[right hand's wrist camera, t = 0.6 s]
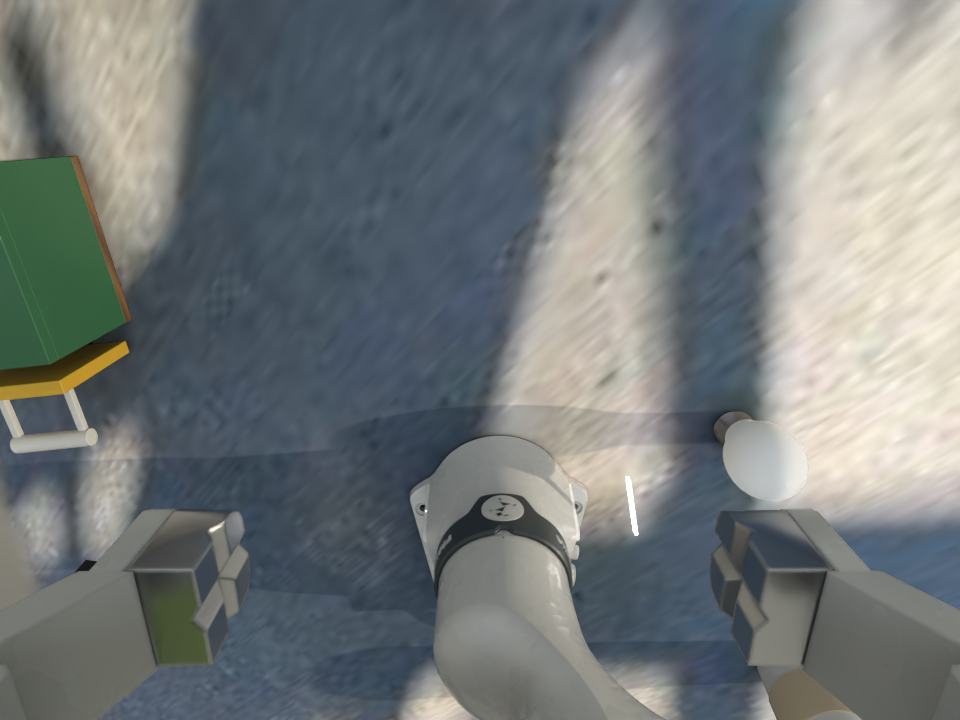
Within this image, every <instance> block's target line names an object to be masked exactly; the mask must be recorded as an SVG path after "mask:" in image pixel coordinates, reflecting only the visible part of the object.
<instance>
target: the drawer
mask: <svg viewBox="0 0 960 720" xmlns="http://www.w3.org/2000/svg"><path fill="white" fill-rule="evenodd" d="M127 353H129V350H128V347H127V344H126V341H120V342H110V343H101V344H92V345H85V346H83V347H81V348H79V349H77V350H76V351H74V352H72V353H70V354H68V355H67V356H65V357H63V358H61V359H59V360H57V361H56V362H54V363H52V364H50V365H41V366H32V367H22V368H13V369H4V370H0V409H1V411H2V413H3V416H4V418H5V420H6V422H7V425H8V427H9V429H10V431H11V434H12V436H13V438H12V440H11V442H10V448H11V450H12V451H13V452H14V453H25V452H35V451H44V450H54V449H64V448H74V447H84V446H93V445H94V444H95V443H96V442H97V438H98V436H97V432H96V431H95V430H94V429H92V428H88V425H87V423H86V420H85V417H84V415H83V412H82V410H81V407H80V404H79V402H78V399H77V397H76V394H75V391H74V389H73V388H74V387H76V386H78V385H79V384H81V383H82V382H84V381H85V380H87V379H88V378H90V377H92V376H93V375H95V374H96V373H98V372H99V371H101V370H102V369H104V368H106V367H107V366H109V365H110V364H112V363H113V362H115V361H116V360H118V359H120V358H121V357H123V356H124V355H126V354H127ZM59 394H64V396H65V399H66V401H67V404H68V406H69V409H70V411H71V414H72V416H73V419H74V421H75V424H76V427H77V429H78V430H69V431H59V432H49V433H40V434H30V435H24V433H23V431H22V428H21V426H20V424H19V421H18V419H17V417H16V414H15V412H14V410H13V407H12V405H11V403H10V400H12V399H21V398H31V397H40V396H50V395H59Z"/></svg>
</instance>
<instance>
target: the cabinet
mask: <svg viewBox="0 0 960 720" xmlns="http://www.w3.org/2000/svg"><path fill="white" fill-rule="evenodd" d="M131 320H132V318H131V315H130V312H129V309H128V306H127V303H126V300H125V297H124V294H123V291H122V288H121V285H120V282H119V279H118V276H117V273H116V270H115V267H114V264H113V261H112V258H111V255H110V252H109V249H108V246H107V243H106V240H105V237H104V234H103V231H102V228H101V225H100V222H99V219H98V216H97V213H96V210H95V207H94V204H93V201H92V198H91V195H90V192H89V189H88V186H87V183H86V180H85V177H84V174H83V171H82V168H81V165H80V162H79V159H78V156H69V157H56V158H42V159H28V160H14V161H0V370H4V369H13V368H22V367H32V366H41V365H50V364H52V363H54V362H56V361H57V360H59V359H61V358H63V357H65V356H67V355H68V354H70V353H72V352H74V351H76V350H77V349H79V348H81V347H83V346H85V345H86V344H88V343H90V342H92V341H94V340H95V339H97V338H99V337H101V336H103V335H104V334H106V333H108V332H110V331H112V330H114V329H115V328H117V327H119V326H121V325H123V324H124V323H127V322H129V321H131Z"/></svg>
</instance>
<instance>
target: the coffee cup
mask: <svg viewBox="0 0 960 720" xmlns="http://www.w3.org/2000/svg"><path fill="white" fill-rule="evenodd" d="M757 669H758V672H759V674H760V677H761V679H762V682H763V684H764V686H765V689H766V691H767V693H768V696H769V702H770V704H771V707H772V709H773V712H774V714H775V716H776V719H777V720H862V719H861V718H860V717H858V716H857V715H856V714H855V713H854V712H852V711H851V710H850V709H849V708H848V707H847V706H845V705H844V704H843V703H842V702H841V701H839V700H838V699H837V698H836V697H835V696H833V695H832V694H831V693H830V692H829V691H828V690H826V689H825V688H824V687H823V686H822V685H820V684H819V683H818V682H817V681H816V680H814V679H813V678H812V677H811V676H810V675H808V674H807V673H806V672H805V671H804V670H803V667H785V666H757Z"/></svg>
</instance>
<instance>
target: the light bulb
mask: <svg viewBox="0 0 960 720" xmlns="http://www.w3.org/2000/svg"><path fill="white" fill-rule="evenodd" d="M714 433H715V436H716V437H717V439H718V440H719V441H720V443H721V444H722V445H723V461H724V465H725V468H726V471H727V472H728V474H729V476H730V477H731V479H732V481H733V482H734V483H735V484H736V485H737V486H738V487H739V488H740V489H741V490H743V491H744V492H746V493H747V494H749V495H750V496H753V497H755V498H758V499H761V500H766V501H781V500H785V499H788V498H790V497H792V496H794V495H795V494H796V493H798V492H799V491H800V490H801V489H802V487H803V486H804V484H805V482H806V479H807V475H808V460H807V456H806V453H805V451H804V449H803V447H802V445H801V444H800V442H799V441H798V440H797V439H796V438H795V436H794V435H793V434H791V433H790V432H789V431H788V430H786V429H785V428H783V427H781V426H779V425H777V424H774V423H772V422H767V421H760V420H759V421H754V420H753V419H752V418H751V417H750V416H749V415H748V414H746V413H744V412H739V411H734V412H729V413H727V414H724V415H723V416H721V417H720V418H719V419H718V420H717V422H716V423H715V426H714Z"/></svg>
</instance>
